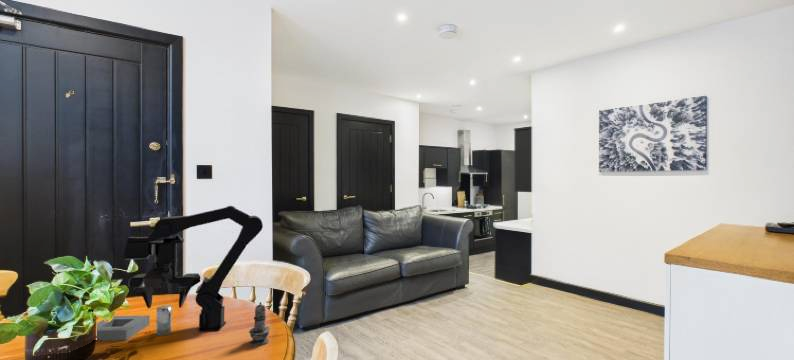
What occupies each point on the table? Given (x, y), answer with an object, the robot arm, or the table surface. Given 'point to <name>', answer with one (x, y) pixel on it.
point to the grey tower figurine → (259, 327)
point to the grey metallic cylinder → (164, 320)
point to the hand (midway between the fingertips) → (165, 307)
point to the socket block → (121, 327)
